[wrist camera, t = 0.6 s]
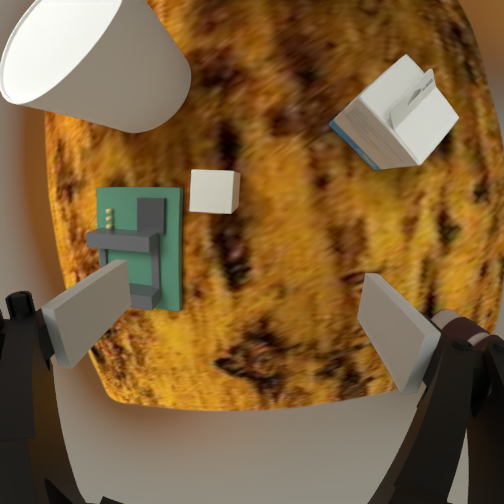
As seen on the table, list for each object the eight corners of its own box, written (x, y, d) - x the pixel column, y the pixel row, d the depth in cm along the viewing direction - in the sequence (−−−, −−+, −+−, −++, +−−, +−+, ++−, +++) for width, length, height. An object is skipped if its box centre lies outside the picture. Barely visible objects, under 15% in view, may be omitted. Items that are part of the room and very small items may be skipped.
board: (102, 187, 33) (80, 189, 28) (183, 187, 33) (169, 188, 28) (108, 295, 37) (90, 310, 32) (182, 306, 37) (170, 325, 32)
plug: (207, 172, 33) (191, 169, 25) (240, 173, 33) (233, 171, 25) (206, 205, 34) (189, 212, 26) (238, 207, 34) (231, 215, 26)
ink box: (373, 172, 32) (429, 170, 19) (326, 124, 31) (363, 92, 18) (410, 131, 30) (471, 115, 17) (367, 84, 29) (414, 45, 16)
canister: (107, 55, 29) (22, 2, 9) (194, 38, 28) (142, -55, 9) (98, 139, 32) (-13, 123, 12) (188, 127, 31) (106, 74, 12)
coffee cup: (408, 354, 38) (449, 413, 24) (426, 300, 36) (482, 350, 21) (450, 350, 38) (493, 398, 23) (467, 300, 36) (522, 341, 21)
